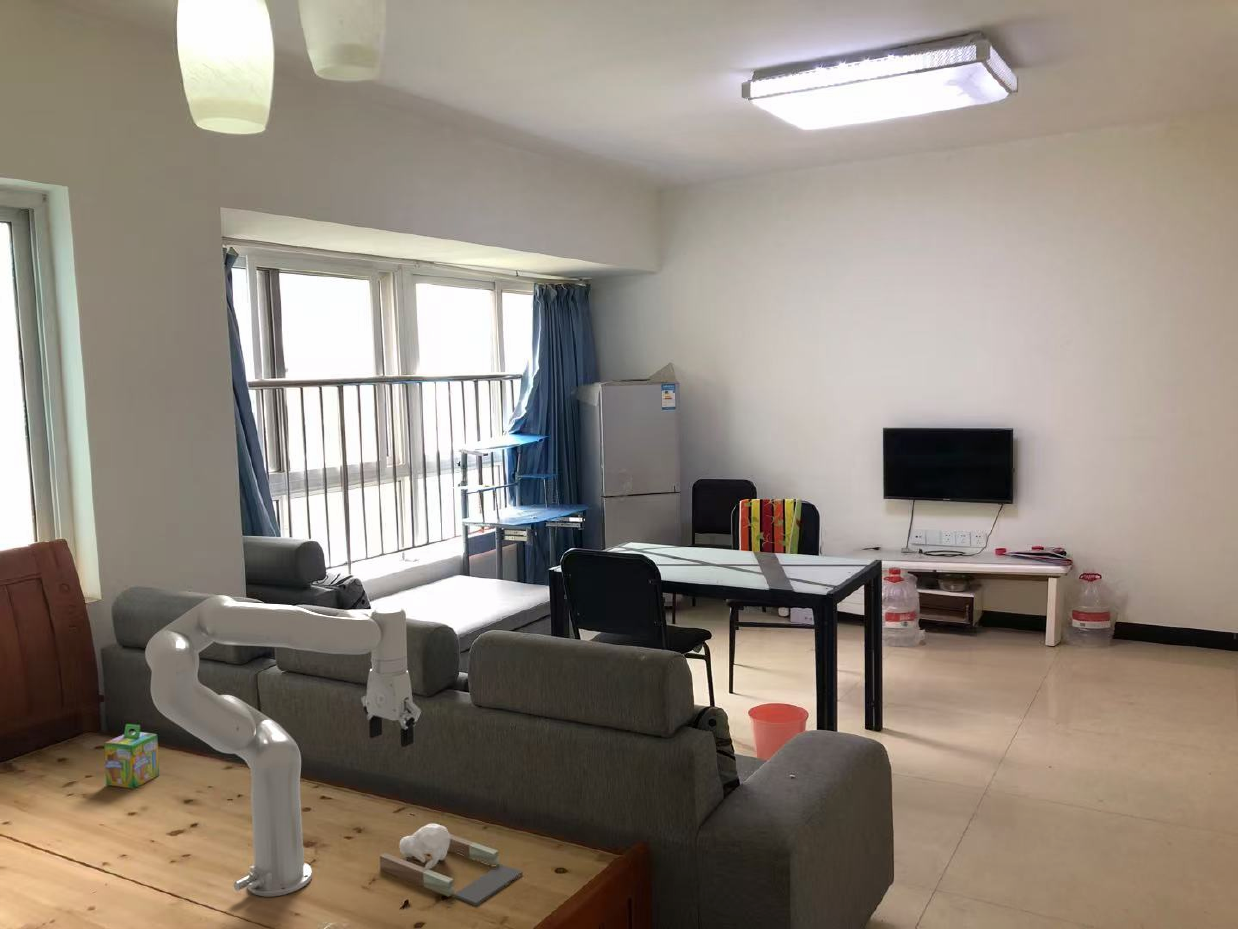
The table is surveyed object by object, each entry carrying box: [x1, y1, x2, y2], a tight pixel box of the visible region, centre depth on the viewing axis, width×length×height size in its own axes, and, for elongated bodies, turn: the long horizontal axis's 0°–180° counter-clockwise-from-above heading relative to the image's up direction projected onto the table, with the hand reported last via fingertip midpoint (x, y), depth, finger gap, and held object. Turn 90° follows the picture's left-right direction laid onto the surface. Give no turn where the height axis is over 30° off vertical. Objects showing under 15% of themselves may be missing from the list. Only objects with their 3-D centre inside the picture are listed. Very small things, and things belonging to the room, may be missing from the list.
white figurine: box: [398, 823, 451, 870], centre depth 204 cm, size 6×8×12 cm
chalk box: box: [104, 723, 160, 790], centre depth 249 cm, size 9×9×15 cm
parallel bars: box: [379, 833, 500, 897], centre depth 202 cm, size 15×20×3 cm
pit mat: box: [453, 863, 523, 907], centre depth 194 cm, size 14×6×1 cm, turn 146°
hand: (391, 740), depth 209 cm, fingers open, 9 cm apart
